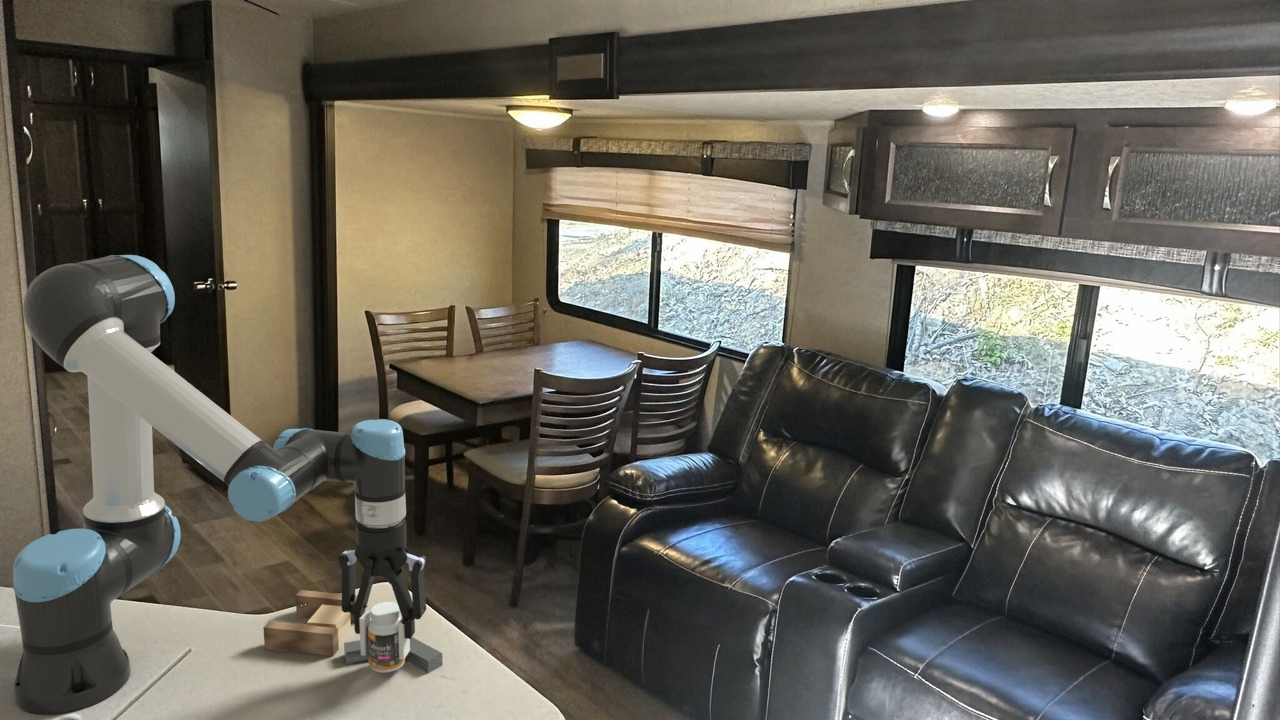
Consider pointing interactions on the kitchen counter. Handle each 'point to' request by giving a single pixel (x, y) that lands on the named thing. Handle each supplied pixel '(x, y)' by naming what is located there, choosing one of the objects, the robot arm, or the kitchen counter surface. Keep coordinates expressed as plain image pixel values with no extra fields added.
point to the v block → (417, 656)
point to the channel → (305, 627)
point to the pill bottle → (384, 637)
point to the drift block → (331, 619)
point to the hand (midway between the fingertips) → (385, 652)
